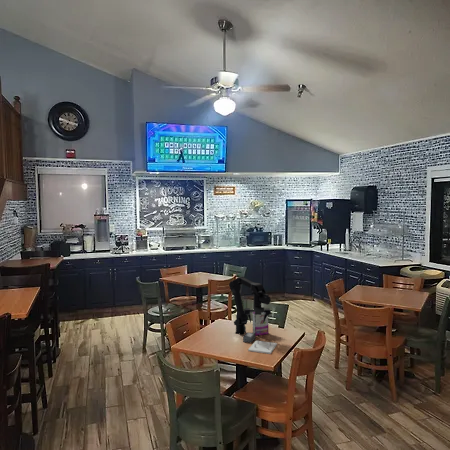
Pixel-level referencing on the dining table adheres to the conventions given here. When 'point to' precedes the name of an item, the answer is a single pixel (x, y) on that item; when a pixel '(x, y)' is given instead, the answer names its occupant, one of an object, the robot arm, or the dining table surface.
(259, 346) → the tray
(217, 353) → the dining table surface
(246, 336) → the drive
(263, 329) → the candy bar box
